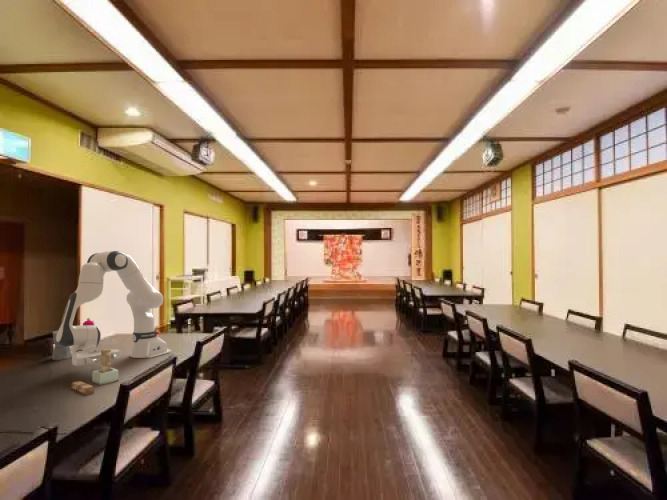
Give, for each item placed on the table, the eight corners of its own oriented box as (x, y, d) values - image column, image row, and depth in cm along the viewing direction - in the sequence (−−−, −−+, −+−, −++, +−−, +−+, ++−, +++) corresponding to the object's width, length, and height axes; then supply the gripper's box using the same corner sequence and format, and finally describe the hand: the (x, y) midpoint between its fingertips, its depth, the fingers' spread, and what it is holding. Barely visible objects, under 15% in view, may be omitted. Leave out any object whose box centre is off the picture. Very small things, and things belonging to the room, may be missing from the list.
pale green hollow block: (110, 377, 189) (110, 367, 189) (118, 380, 185) (118, 370, 185) (92, 381, 183) (92, 370, 183) (100, 385, 178) (100, 374, 178)
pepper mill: (88, 351, 238) (88, 319, 238) (77, 351, 240) (78, 318, 240) (97, 349, 245) (98, 317, 246) (87, 348, 247) (88, 316, 247)
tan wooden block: (107, 378, 186) (107, 348, 186) (110, 379, 184) (111, 349, 184) (100, 379, 183) (101, 349, 184) (103, 380, 182) (104, 350, 182)
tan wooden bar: (71, 389, 173) (71, 382, 173) (79, 387, 176) (79, 380, 176) (86, 395, 165) (86, 388, 165) (93, 393, 168) (94, 386, 168)
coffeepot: (45, 358, 221) (46, 326, 222) (62, 354, 230) (63, 324, 230) (63, 361, 215) (64, 329, 216) (80, 357, 224) (80, 326, 224)
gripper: (113, 357, 201) (127, 361, 193) (68, 365, 184) (81, 371, 176) (113, 344, 201) (127, 348, 193) (68, 352, 184) (81, 357, 176)
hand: (105, 359), depth 185 cm, fingers open, 8 cm apart
